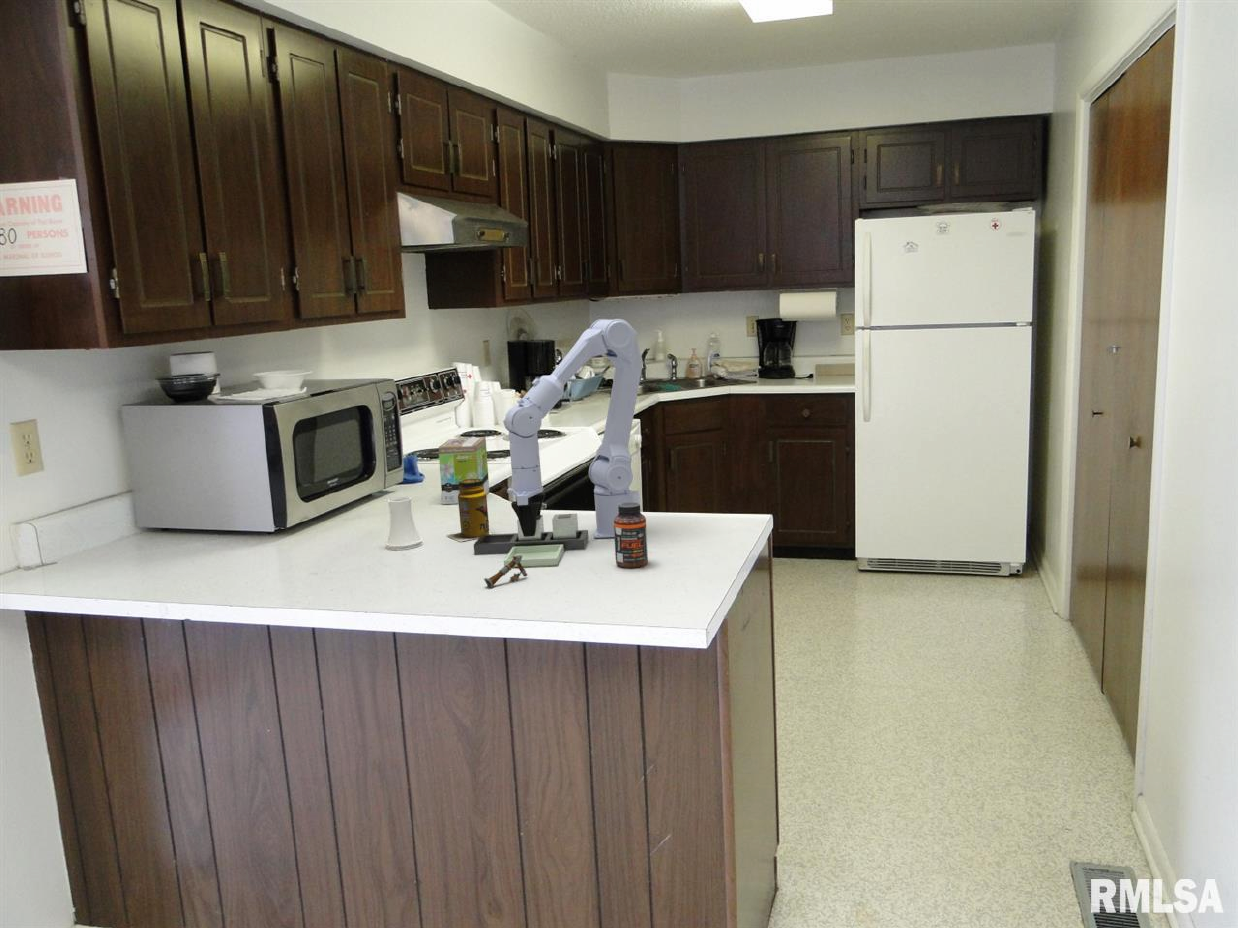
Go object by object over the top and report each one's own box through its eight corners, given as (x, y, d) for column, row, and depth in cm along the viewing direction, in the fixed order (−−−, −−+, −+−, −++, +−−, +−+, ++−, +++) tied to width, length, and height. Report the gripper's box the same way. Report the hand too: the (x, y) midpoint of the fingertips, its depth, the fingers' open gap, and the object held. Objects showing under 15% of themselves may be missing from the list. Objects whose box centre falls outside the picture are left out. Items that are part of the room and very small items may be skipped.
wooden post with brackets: (533, 572, 177) (522, 552, 176) (499, 600, 174) (488, 579, 172) (527, 571, 179) (517, 551, 177) (494, 597, 175) (483, 577, 173)
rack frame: (588, 539, 202) (588, 529, 202) (584, 549, 194) (584, 539, 194) (482, 544, 204) (481, 534, 203) (474, 554, 196) (473, 544, 196)
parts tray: (563, 551, 194) (563, 544, 193) (557, 566, 184) (556, 558, 184) (513, 554, 194) (512, 546, 194) (504, 568, 185) (503, 560, 184)
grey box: (545, 543, 201) (542, 514, 200) (541, 549, 197) (539, 519, 196) (523, 544, 201) (520, 515, 200) (519, 550, 197) (517, 520, 196)
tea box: (482, 503, 245) (476, 444, 243) (441, 505, 246) (436, 446, 243) (490, 491, 260) (485, 435, 258) (452, 493, 261) (447, 437, 258)
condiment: (497, 535, 211) (492, 480, 209) (460, 542, 207) (455, 486, 205) (482, 529, 217) (477, 475, 215) (446, 536, 213) (441, 482, 211)
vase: (430, 542, 208) (425, 496, 206) (404, 551, 202) (399, 504, 200) (404, 539, 212) (399, 494, 211) (378, 548, 206) (373, 501, 204)
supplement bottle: (621, 570, 178) (617, 509, 176) (612, 562, 184) (608, 503, 182) (652, 566, 180) (649, 505, 178) (643, 558, 185) (639, 499, 183)
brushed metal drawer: (579, 542, 201) (577, 512, 200) (576, 548, 196) (574, 517, 195) (557, 543, 201) (554, 513, 200) (554, 549, 197) (552, 518, 195)
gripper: (512, 461, 204) (517, 525, 206) (499, 474, 189) (505, 542, 192) (546, 459, 203) (551, 523, 205) (535, 472, 189) (541, 541, 191)
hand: (531, 532), depth 199 cm, fingers closed on grey box, 4 cm apart
